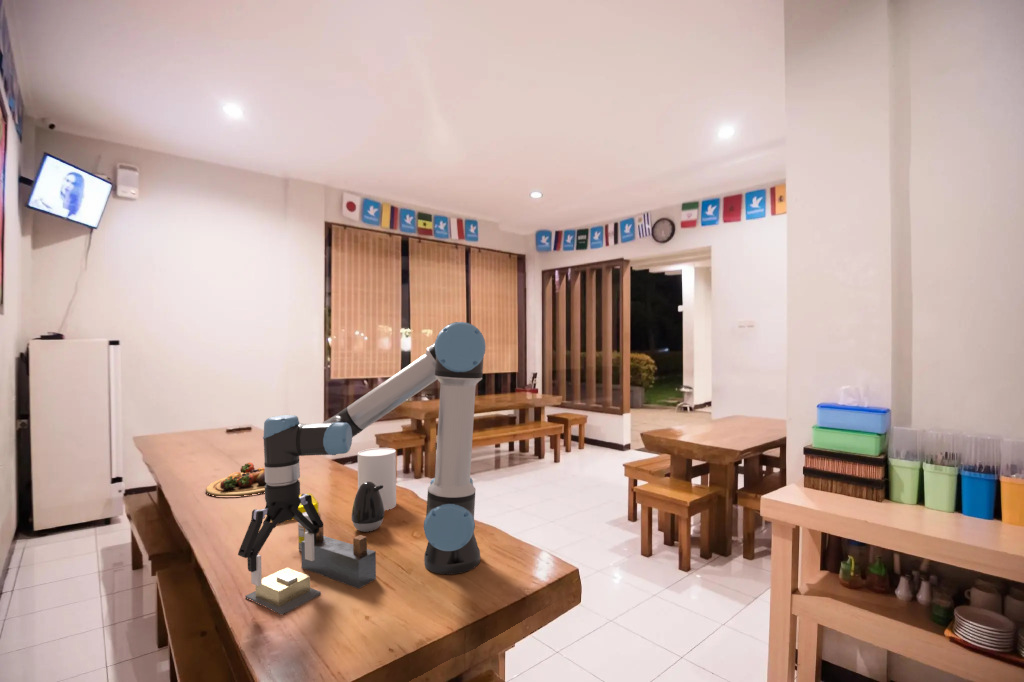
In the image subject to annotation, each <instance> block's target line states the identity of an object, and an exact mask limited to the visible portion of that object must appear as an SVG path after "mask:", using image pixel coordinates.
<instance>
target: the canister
mask: <svg viewBox="0 0 1024 682" xmlns="http://www.w3.org/2000/svg"><path fill="white" fill-rule="evenodd" d="M365 482H373V483H374V484H375V485H376V486H380V485H383V488H382V489H380V490H379V492H380V495H381V498H382V501H383V506H384V512H386V511H385V510H387V511H390V510H392V509H394V508H395V507H397V450H396V449H395V448H391V447H390V448H389V447H373V448H366V449H363V450H360V451H358V452H357V490H358V489H359V487H360V486H361V485H362V484H363V483H365ZM389 509H390V510H389Z"/></svg>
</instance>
